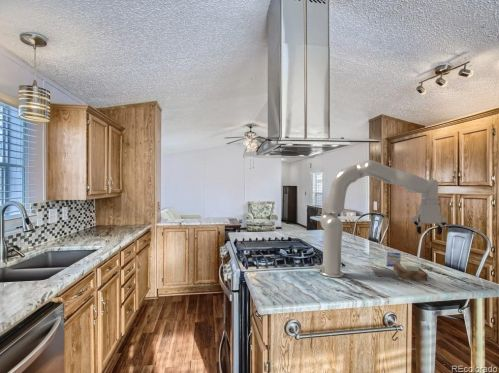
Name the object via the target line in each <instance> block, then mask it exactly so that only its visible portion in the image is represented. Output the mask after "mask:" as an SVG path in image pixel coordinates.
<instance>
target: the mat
mask: <svg viewBox="0 0 499 373" xmlns="http://www.w3.org/2000/svg"><path fill="white" fill-rule="evenodd" d="M371 269H372V271H373V272H374V274H375V276H377V277H379V278H380V277H381V278H382V277H383V278H391V279H392V278H393V279H400V277H399V276H398V274H397V273H396V272H395V271H394V270H393V269H386V268H384V269H383V268H374V267H373V268H371Z"/></svg>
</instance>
